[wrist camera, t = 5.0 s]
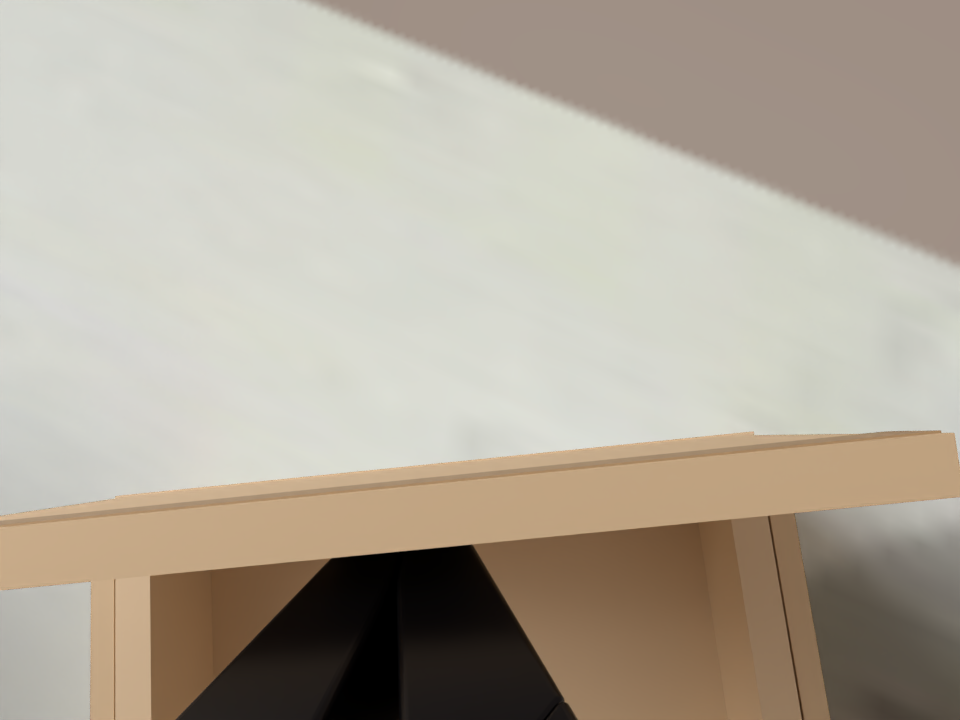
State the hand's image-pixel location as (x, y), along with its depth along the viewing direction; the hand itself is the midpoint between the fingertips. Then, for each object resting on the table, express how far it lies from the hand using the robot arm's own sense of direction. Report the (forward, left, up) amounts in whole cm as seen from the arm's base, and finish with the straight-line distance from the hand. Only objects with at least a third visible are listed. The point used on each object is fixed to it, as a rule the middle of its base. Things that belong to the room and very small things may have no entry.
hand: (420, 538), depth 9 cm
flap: (+1, 0, -4) cm, 5 cm away
